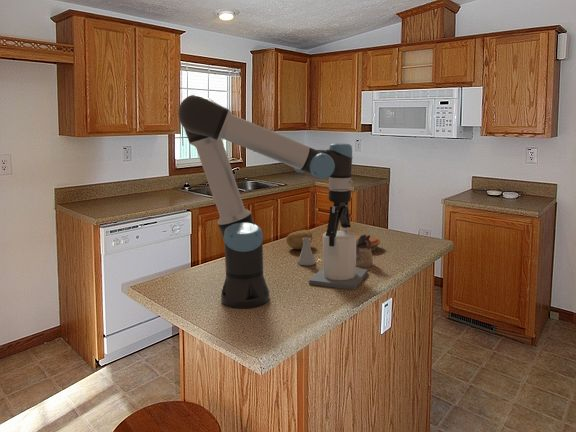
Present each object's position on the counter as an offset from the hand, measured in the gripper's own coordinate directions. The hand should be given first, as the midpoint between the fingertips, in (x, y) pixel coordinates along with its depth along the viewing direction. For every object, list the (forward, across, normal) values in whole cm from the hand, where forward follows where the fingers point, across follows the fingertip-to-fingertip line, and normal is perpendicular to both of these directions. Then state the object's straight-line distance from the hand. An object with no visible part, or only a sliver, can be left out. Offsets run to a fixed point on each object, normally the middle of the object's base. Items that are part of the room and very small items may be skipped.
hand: (338, 250), depth 168 cm
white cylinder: (+9, 0, 0) cm, 9 cm away
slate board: (+10, 0, -1) cm, 10 cm away
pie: (+10, +41, +1) cm, 43 cm away
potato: (+11, +32, +26) cm, 43 cm away
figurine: (+10, +19, -5) cm, 22 cm away
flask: (+11, +13, +16) cm, 24 cm away
